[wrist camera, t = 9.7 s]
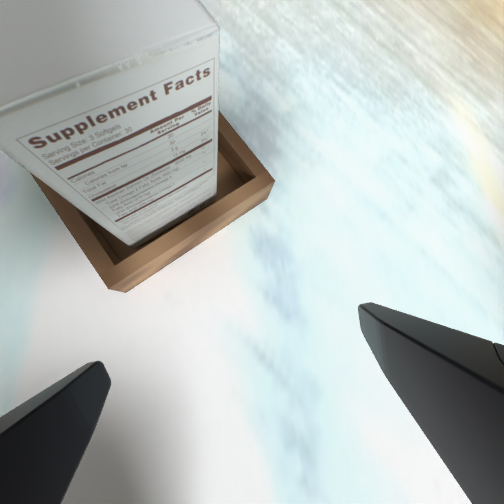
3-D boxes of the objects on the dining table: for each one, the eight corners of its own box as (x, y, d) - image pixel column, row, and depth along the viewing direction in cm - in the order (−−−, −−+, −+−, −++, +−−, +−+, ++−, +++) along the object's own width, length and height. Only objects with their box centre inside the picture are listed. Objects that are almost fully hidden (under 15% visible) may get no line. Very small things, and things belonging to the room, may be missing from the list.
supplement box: (80, 173, 18) (-184, -97, 6) (169, 131, 20) (99, -142, 8) (132, 254, 18) (-53, 123, 5) (220, 202, 19) (228, 18, 7)
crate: (126, 292, 18) (108, 288, 15) (32, 155, 19) (-1, 127, 16) (267, 198, 21) (275, 180, 18) (178, 87, 22) (173, 53, 19)
